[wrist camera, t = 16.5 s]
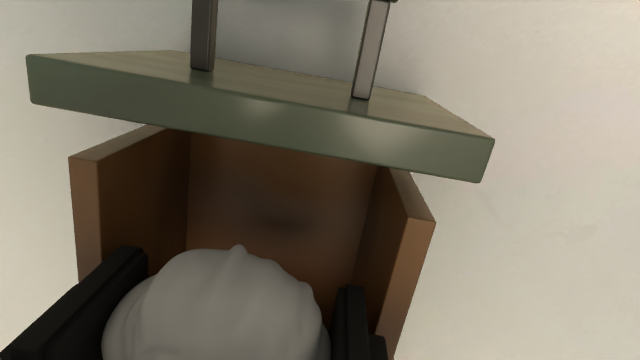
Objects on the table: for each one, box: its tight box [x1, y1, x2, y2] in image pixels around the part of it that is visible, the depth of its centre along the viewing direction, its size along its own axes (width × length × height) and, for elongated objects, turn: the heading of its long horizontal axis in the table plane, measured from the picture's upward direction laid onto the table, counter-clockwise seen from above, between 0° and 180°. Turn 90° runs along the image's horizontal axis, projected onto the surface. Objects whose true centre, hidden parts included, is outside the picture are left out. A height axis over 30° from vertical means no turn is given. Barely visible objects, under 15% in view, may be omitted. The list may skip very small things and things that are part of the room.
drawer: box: [26, 0, 495, 360], centre depth 14 cm, size 18×11×8 cm, turn 170°
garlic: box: [101, 245, 331, 360], centre depth 9 cm, size 6×5×5 cm
